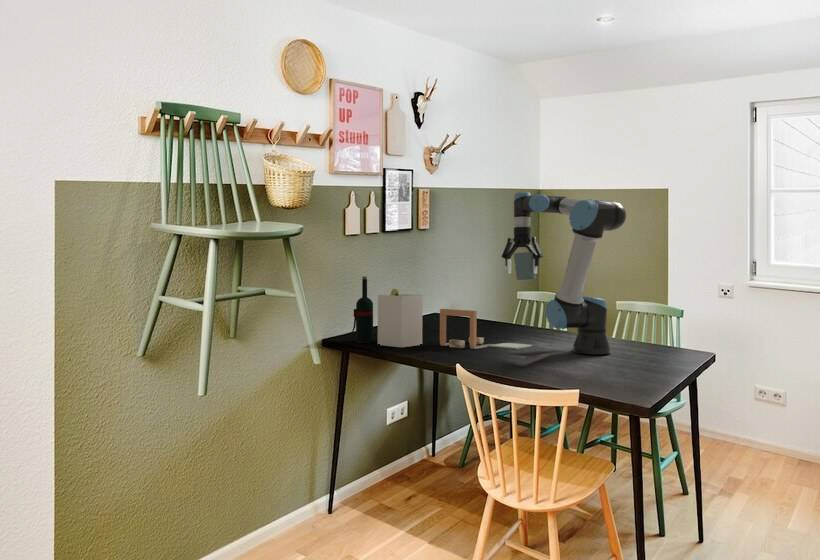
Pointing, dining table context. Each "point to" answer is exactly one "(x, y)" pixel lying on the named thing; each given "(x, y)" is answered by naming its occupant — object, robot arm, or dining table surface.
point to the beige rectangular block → (462, 342)
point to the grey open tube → (524, 266)
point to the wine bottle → (364, 316)
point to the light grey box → (400, 320)
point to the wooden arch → (458, 313)
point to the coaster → (511, 345)
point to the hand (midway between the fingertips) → (521, 273)
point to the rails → (472, 347)
